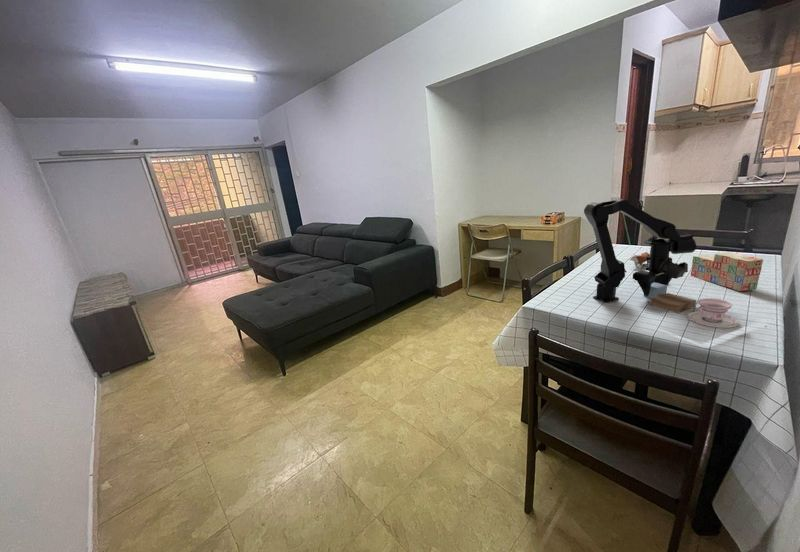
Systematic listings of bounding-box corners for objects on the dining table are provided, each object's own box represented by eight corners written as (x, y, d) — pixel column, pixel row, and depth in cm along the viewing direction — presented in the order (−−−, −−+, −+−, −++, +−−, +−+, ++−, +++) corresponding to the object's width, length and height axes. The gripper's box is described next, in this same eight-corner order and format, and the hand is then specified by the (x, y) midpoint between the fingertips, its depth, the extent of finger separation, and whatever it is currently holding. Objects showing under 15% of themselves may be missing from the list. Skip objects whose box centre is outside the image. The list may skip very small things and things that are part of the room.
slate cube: (656, 300, 121) (658, 288, 120) (643, 296, 126) (644, 284, 124) (665, 297, 123) (667, 285, 121) (652, 293, 127) (653, 282, 126)
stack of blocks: (689, 276, 140) (693, 249, 137) (703, 274, 140) (708, 247, 137) (740, 291, 120) (747, 260, 116) (757, 289, 120) (764, 258, 116)
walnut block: (677, 313, 110) (678, 305, 109) (650, 305, 118) (651, 298, 118) (694, 307, 113) (696, 300, 112) (667, 300, 121) (668, 293, 120)
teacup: (712, 311, 109) (715, 294, 107) (750, 326, 97) (754, 307, 95) (677, 315, 109) (680, 298, 107) (711, 330, 97) (715, 312, 95)
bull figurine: (626, 270, 157) (627, 254, 155) (642, 264, 162) (644, 249, 160) (635, 271, 153) (637, 255, 151) (652, 266, 158) (654, 250, 156)
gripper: (665, 263, 109) (660, 305, 114) (701, 254, 115) (694, 293, 119) (633, 258, 120) (629, 296, 124) (667, 249, 125) (662, 286, 129)
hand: (654, 293), depth 124 cm, fingers open, 9 cm apart
